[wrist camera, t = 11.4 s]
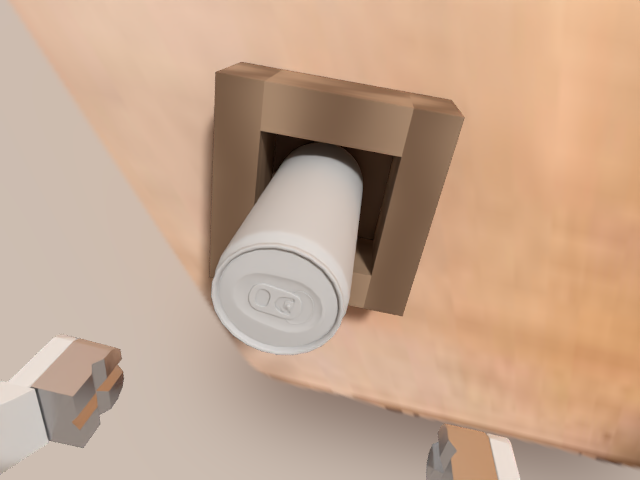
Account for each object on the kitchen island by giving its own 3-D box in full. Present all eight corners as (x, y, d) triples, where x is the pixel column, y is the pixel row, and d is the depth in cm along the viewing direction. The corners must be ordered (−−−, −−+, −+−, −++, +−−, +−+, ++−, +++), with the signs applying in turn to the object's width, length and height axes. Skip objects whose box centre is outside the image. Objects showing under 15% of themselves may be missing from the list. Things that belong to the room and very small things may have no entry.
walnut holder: (451, 100, 22) (464, 117, 18) (399, 276, 27) (402, 316, 24) (241, 62, 22) (215, 72, 19) (231, 243, 28) (209, 277, 24)
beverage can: (347, 227, 26) (323, 375, 16) (272, 202, 26) (196, 333, 16) (376, 155, 24) (369, 270, 13) (293, 126, 24) (220, 220, 13)
